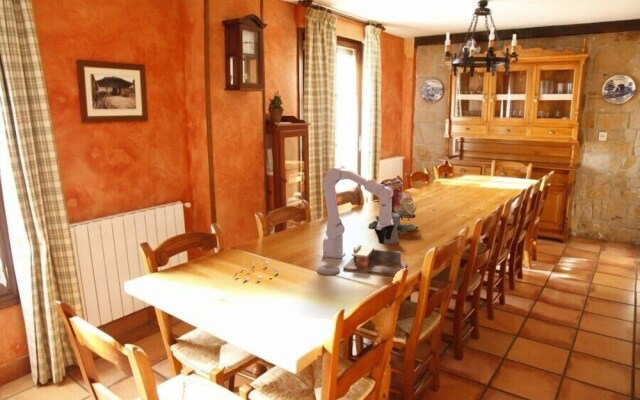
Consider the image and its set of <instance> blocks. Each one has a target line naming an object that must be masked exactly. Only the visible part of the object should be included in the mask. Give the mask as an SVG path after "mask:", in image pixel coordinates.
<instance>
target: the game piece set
mask: <svg viewBox="0 0 640 400" xmlns="http://www.w3.org/2000/svg"><path fill="white" fill-rule="evenodd" d="M253 265H255V264H254V262H252V266H253ZM265 265H268V266H269V265H270V264H269V262H268V261H267V260H266V261H265V262H264V266H265ZM243 267H244V268H245V263H244V262H242V268H243ZM274 269H275V270H274V272H275V273H276V272H278V273H279V268H278V267H276V268H274ZM234 270H236V271H237V270H238V271H239V269H238V268H235V269H234ZM238 275H239V273H238V274H237V273H236V276H238ZM256 278H257V280H258V279H260V280H261V279H262V275H257V277H256ZM244 279H249V277H247V276H246V275H245V276H244V278H243V280H244Z"/></svg>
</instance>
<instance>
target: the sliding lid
mask: <svg viewBox="0 0 640 400" xmlns="http://www.w3.org/2000/svg"><path fill="white" fill-rule="evenodd" d="M374 249H375V247H373V246H364V245H363V246H362V245H361V244H357V245H356V248H355V249H354V248H353V252H352V254H351V256H352V257H354V256H357V257H368V256H369V255H370V253H371V252H372V251H373V250H374Z"/></svg>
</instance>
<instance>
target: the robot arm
mask: <svg viewBox="0 0 640 400" xmlns="http://www.w3.org/2000/svg"><path fill="white" fill-rule="evenodd" d="M341 180H342V181H343V180H344V181H345V180H349V181H352V182H354V183H356V184H358V185H360V186H363V188H364V190H365V191H367V192H369V193H370V194H372V195H375V196H376V197H377V198H378V199H379V200H378V201H379V202H378V205H379V206H378V207H379V208H378V216H379V222H378V221H377V222H378V225H377V228H375V229H374V233H375V234H376V236H377V240H378V244H380V245H384V244H385V243H384V240H385V238H386V239H388V240H390V238H391V235H392V231H393V229H394V227H395V224H394V223H393V219H391V215H392V198H391V197H392V196H393V190H392V188H390V187H389V186H385V185H384V184H380V182H378V181H376V179H375V178H372V179H371V178H369V179H366V178H365V177H363V176H362V175H360V174H358V173H357V172H354V171H353V170H351V169H350V168H348V167H345V166H343V165H337V166H336V167H331V168H330V169H328V170H327V171H326V173H325V178H324V180H323V184H322V185H323V191H324V192H323V193H324V199H325V205H326V206H325V207H326V212H327V213H326V214H327V219H328V220H327V222H326V230H325V235H326V237H323V241H322V257H324V258H332V259H333V258H334V259H342V258H343V257H344V255H346V252H343V251H344V246H343V245H344V242H343V241H344V240H343V239H344V237H343V234H344V233H345V230H346V229H345V226H344V225H343V221H342V219H341V218H340V212H339V207H338V199H337V194H336V186H337V184H338V183H339V182H340V181H341ZM383 228H384V229H383Z"/></svg>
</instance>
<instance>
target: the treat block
mask: <svg viewBox="0 0 640 400" xmlns="http://www.w3.org/2000/svg"><path fill="white" fill-rule="evenodd" d="M356 266H357V267H366V268H368V267H369V256H368V257H357V265H356Z"/></svg>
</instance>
